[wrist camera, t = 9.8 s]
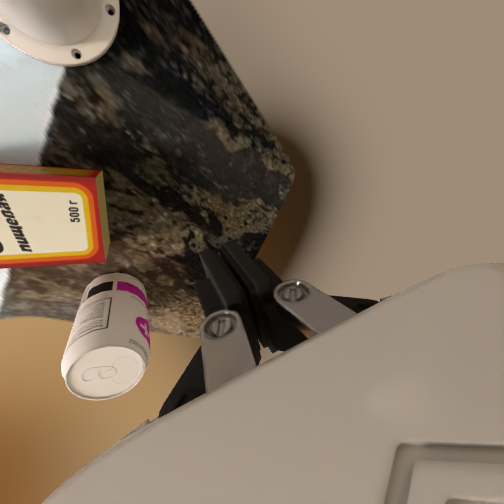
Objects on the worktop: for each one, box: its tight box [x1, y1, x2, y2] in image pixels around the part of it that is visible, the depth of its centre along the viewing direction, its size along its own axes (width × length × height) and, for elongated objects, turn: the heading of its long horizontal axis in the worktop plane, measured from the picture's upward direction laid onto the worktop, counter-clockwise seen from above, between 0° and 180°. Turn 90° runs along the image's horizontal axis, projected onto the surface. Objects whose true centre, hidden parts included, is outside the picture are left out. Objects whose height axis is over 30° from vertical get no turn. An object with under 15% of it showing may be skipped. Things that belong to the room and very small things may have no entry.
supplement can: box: [61, 273, 150, 400], centre depth 32 cm, size 8×8×15 cm
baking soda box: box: [0, 164, 110, 269], centre depth 27 cm, size 10×6×16 cm
